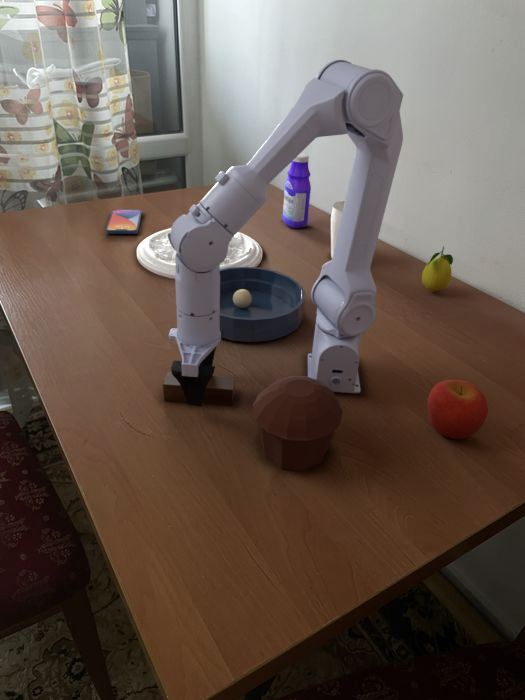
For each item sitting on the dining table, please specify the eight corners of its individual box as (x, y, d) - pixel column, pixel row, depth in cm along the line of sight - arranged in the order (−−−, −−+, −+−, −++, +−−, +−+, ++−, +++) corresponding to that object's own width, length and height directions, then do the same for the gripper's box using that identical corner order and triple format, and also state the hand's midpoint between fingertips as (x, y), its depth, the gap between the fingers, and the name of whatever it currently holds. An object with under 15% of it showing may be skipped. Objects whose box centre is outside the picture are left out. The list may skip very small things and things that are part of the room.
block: (232, 406, 79) (232, 389, 78) (163, 400, 80) (162, 384, 78) (234, 393, 82) (234, 377, 80) (168, 388, 82) (167, 371, 80)
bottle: (278, 220, 143) (283, 151, 133) (297, 218, 145) (303, 150, 135) (291, 230, 137) (297, 159, 128) (310, 228, 139) (318, 158, 130)
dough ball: (236, 310, 103) (250, 312, 101) (226, 300, 101) (240, 302, 99) (244, 295, 104) (258, 297, 102) (234, 284, 102) (248, 286, 100)
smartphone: (142, 213, 142) (142, 209, 141) (137, 234, 129) (137, 230, 129) (113, 213, 141) (112, 209, 141) (105, 234, 129) (105, 230, 128)
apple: (454, 457, 73) (470, 412, 68) (409, 424, 78) (421, 380, 74) (489, 436, 77) (505, 392, 72) (444, 405, 82) (457, 363, 78)
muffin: (289, 407, 80) (294, 351, 74) (352, 445, 74) (364, 386, 68) (232, 449, 72) (234, 389, 66) (298, 494, 66) (306, 432, 61)
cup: (364, 268, 121) (373, 216, 114) (323, 263, 122) (330, 211, 115) (366, 253, 128) (374, 202, 121) (328, 248, 129) (334, 198, 123)
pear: (419, 298, 110) (430, 252, 105) (413, 284, 115) (423, 240, 110) (452, 300, 110) (464, 254, 105) (444, 286, 115) (456, 242, 110)
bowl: (302, 349, 93) (304, 323, 90) (183, 340, 93) (182, 314, 90) (302, 293, 109) (304, 270, 107) (202, 286, 110) (201, 263, 107)
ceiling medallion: (220, 222, 140) (221, 210, 138) (287, 263, 121) (288, 250, 119) (116, 242, 126) (115, 229, 124) (173, 292, 107) (172, 278, 105)
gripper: (178, 279, 78) (181, 357, 86) (155, 332, 66) (161, 417, 74) (227, 282, 78) (226, 360, 86) (213, 336, 66) (213, 421, 74)
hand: (199, 387), depth 80 cm, fingers open, 7 cm apart
